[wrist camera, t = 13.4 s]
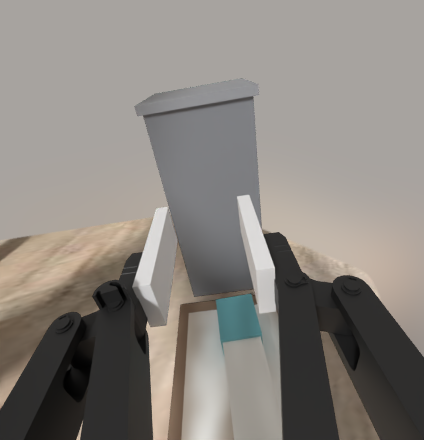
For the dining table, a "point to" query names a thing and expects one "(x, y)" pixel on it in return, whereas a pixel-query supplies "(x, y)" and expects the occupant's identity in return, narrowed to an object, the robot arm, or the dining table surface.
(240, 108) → the stand
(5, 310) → the dining table surface
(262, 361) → the block
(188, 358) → the writing pad
